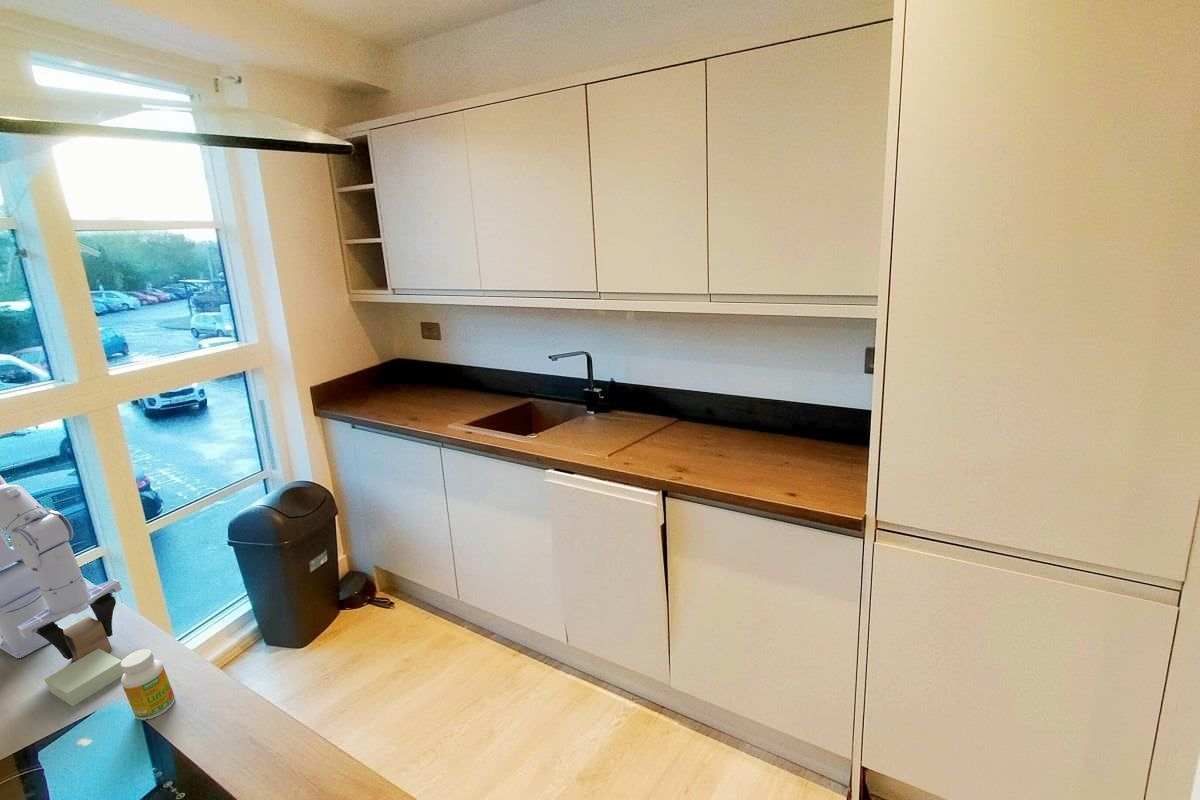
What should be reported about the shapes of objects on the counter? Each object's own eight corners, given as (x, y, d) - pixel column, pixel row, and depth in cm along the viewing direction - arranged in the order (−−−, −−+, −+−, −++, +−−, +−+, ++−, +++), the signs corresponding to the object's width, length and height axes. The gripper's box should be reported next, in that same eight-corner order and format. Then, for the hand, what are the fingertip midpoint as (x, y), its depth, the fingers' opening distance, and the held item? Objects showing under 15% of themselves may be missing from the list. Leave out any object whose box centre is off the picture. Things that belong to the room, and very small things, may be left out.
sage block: (50, 693, 105) (44, 679, 104) (104, 662, 111) (98, 648, 110) (73, 708, 101) (66, 693, 100) (127, 674, 107) (121, 660, 106)
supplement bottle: (155, 722, 96) (134, 671, 93) (126, 719, 97) (105, 669, 94) (183, 696, 101) (165, 646, 98) (156, 693, 102) (137, 644, 99)
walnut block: (72, 659, 112) (59, 631, 110) (100, 643, 116) (88, 616, 114) (84, 666, 110) (72, 638, 108) (112, 649, 114) (101, 622, 112)
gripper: (19, 611, 100) (50, 679, 104) (119, 563, 112) (143, 626, 116) (1, 601, 104) (31, 668, 108) (99, 556, 116) (123, 617, 120)
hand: (88, 645), depth 112 cm, fingers open, 6 cm apart
